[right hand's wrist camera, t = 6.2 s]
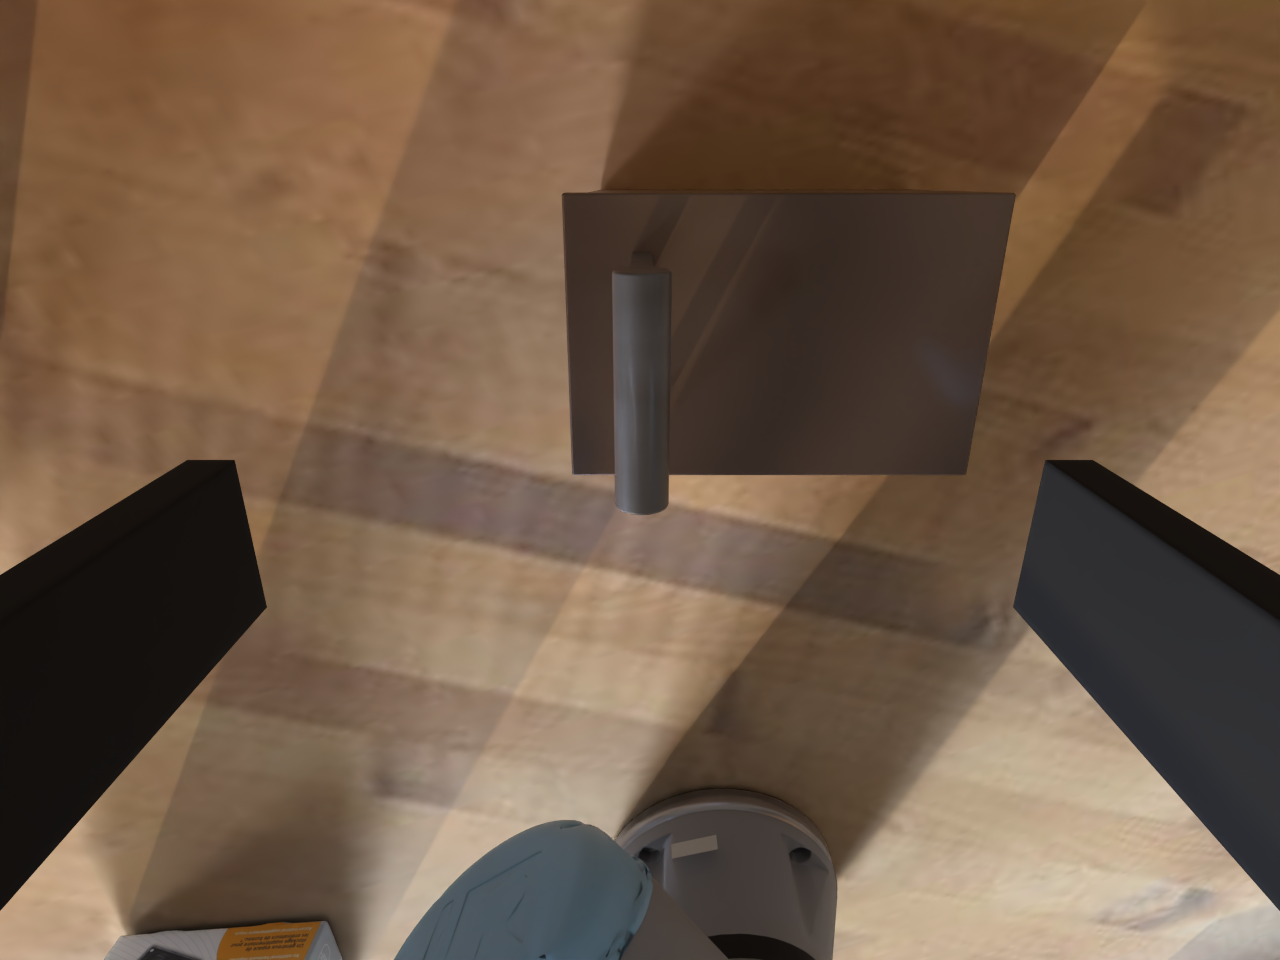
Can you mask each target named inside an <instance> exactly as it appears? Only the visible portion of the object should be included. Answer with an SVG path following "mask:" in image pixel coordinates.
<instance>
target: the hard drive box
mask: <svg viewBox="0 0 1280 960" xmlns="http://www.w3.org/2000/svg"><path fill="white" fill-rule="evenodd" d="M104 960H343V959H342V956H341V954H340V951H339V949H338V947H337V944H336V941H335V939H334V936H333V934H332V931H331V929H330V926H329V924H328V922H327V921H316V922H303V923H287V922H276V923H267V924H264V925H258V926H250V927H235V928H221V929H208V930H194V931H182V930H175V931H163V932H158V933H152V934H139V935H127V936H120V937H119V939H118V940H117V942H116V943H115V944H114V946H113V947H112V949H111V950H110V951H109V953H108V954H107V956H106V957H105V958H104Z"/></svg>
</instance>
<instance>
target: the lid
mask: <svg viewBox="0 0 1280 960" xmlns="http://www.w3.org/2000/svg"><path fill="white" fill-rule="evenodd" d="M1014 201H1015V194H1014V193H563V194H562V210H563V237H564V264H565V291H566V318H567V345H568V372H569V399H570V426H571V454H572V474H573V475H615V504H616V506H617V508H618V509H619V510H621V511H623V512H625V513H629V514H634V515H649V514H655V513H658V512H661V511H663V510H665V509H666V507H667V506H668V500H669V475H966V471H967V466H968V460H969V454H970V449H971V443H972V438H973V432H974V426H975V421H976V415H977V409H978V404H979V398H980V392H981V387H982V381H983V376H984V370H985V364H986V359H987V353H988V347H989V342H990V336H991V330H992V325H993V319H994V314H995V308H996V302H997V297H998V291H999V285H1000V280H1001V274H1002V268H1003V263H1004V257H1005V252H1006V246H1007V240H1008V235H1009V229H1010V223H1011V218H1012V212H1013V206H1014Z"/></svg>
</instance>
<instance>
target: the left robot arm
mask: <svg viewBox="0 0 1280 960" xmlns="http://www.w3.org/2000/svg"><path fill="white" fill-rule="evenodd" d="M836 906H837V880H836V875H835V871H834V867H833V864H832V860H831V857H830V853H829V850H828V847H827V844H826V842H825V840H824V838H823V836H822V835H821V833H820V832H819V830H818V829H817V827H816V826H815V825H814V824H813V823H812V822H811V821H810V820H809V819H808V818H807V817H806V816H805V815H803V814H802V813H801V812H799V811H798V810H797V809H795V808H794V807H792V806H790V805H788V804H787V803H785V802H782V801H780V800H778V799H776V798H773V797H770V796H768V795H764V794H760V793H757V792H752V791H747V790H738V789H707V790H699V791H693V792H688V793H684V794H681V795H677V796H674V797H671V798H669V799H666V800H664V801H662V802H659V803H657V804H655V805H653V806H652V807H650V808H648V809H646V810H645V811H643V812H642V813H641V814H639V815H638V816H637V817H635V818H634V819H633V820H632V821H631V822H630V823H629V824H628V825H627V826H626V827H625V828H624V829H623V830H622V831H621V833H620V834H619V835H618V837H617V838H616V840H615V841H614V840H613V839H612V838H610V837H609V836H608V835H607V834H606V833H605V832H603V831H602V830H600V829H599V828H597V827H595V826H592V825H585V824H583V823H582V822H579V821H574V820H560V821H553V822H548V823H544V824H540V825H537V826H535V827H532V828H530V829H527V830H525V831H523V832H521V833H519V834H517V835H515V836H513V837H511V838H509V839H508V840H506V841H504V842H503V843H501V844H500V845H498V846H497V847H495V848H494V849H492V850H491V851H489V852H488V853H487V854H485V855H484V856H483V857H482V858H480V859H479V860H478V861H477V862H475V863H474V864H473V865H472V866H471V867H470V868H468V869H467V870H466V871H465V872H464V873H463V874H462V875H461V876H460V877H459V878H458V879H457V880H456V881H455V882H454V883H453V884H452V885H451V886H450V887H449V888H448V889H447V890H446V891H445V892H444V893H443V895H442V896H441V897H440V898H439V899H438V900H437V901H436V902H435V903H434V904H433V905H432V907H431V908H430V909H429V910H428V911H427V913H426V914H425V915H424V916H423V918H422V919H421V920H420V921H419V923H418V924H417V925H416V927H415V928H414V929H413V931H412V932H411V934H410V935H409V937H408V938H407V940H406V941H405V943H404V944H403V946H402V947H401V949H400V950H399V952H398V954H397V955H396V957H395V959H394V960H832V958H833V945H834V932H835V919H836Z"/></svg>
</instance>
